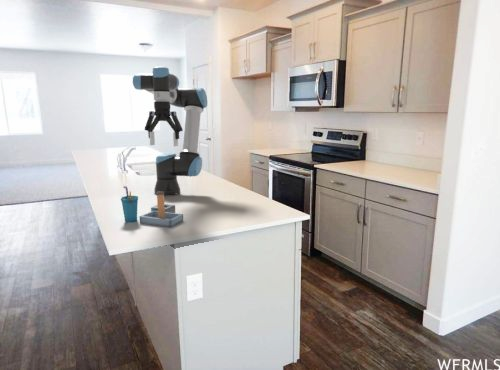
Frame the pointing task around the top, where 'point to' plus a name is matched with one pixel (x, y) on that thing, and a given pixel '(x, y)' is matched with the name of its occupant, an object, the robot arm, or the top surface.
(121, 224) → the top surface
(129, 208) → the cup
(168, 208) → the hitch block
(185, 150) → the robot arm
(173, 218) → the tray
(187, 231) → the top surface
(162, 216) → the pin
